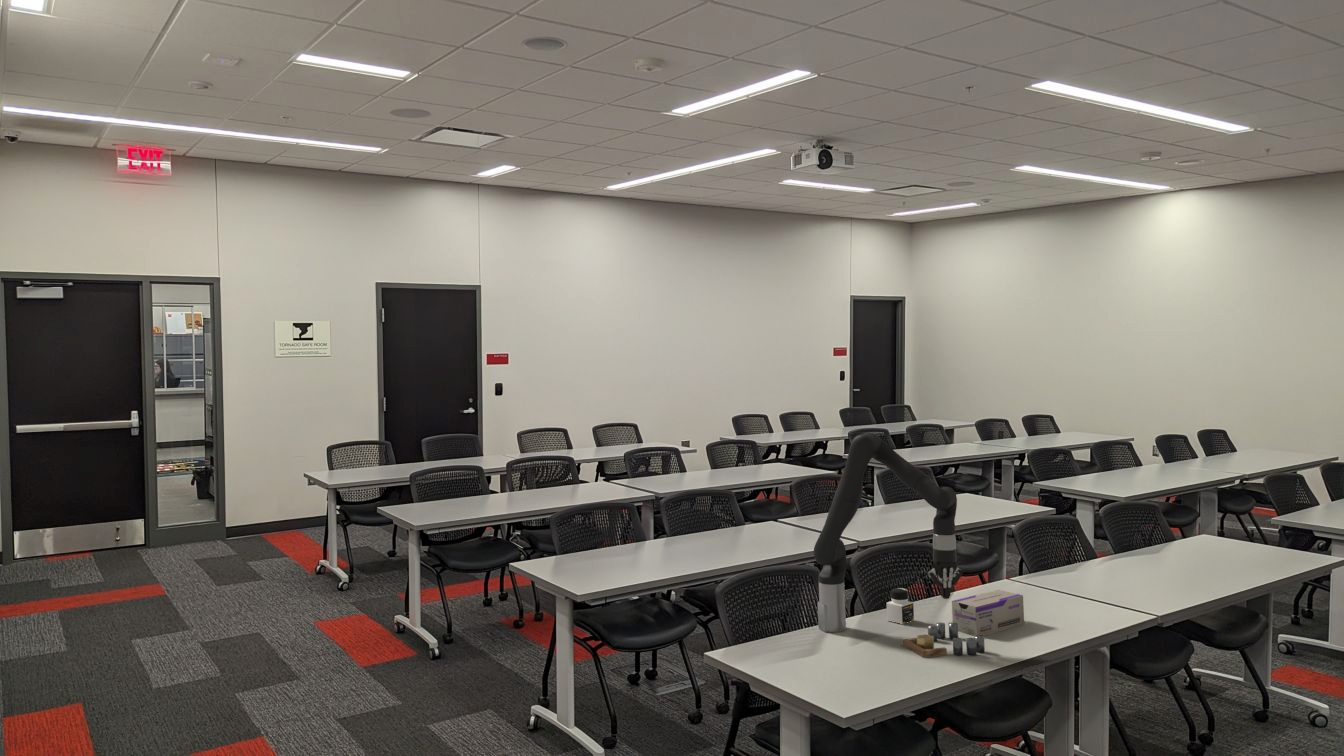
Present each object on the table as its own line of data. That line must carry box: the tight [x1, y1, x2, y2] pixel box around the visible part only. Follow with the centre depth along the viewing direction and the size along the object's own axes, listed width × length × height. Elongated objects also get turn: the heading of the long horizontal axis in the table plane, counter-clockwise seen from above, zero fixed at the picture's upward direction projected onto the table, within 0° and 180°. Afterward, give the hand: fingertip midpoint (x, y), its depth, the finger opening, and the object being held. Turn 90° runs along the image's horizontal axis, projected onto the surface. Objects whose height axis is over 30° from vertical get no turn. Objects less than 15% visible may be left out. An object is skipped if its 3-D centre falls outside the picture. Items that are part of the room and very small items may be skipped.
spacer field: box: [927, 621, 986, 657], centre depth 297 cm, size 11×22×5 cm, turn 13°
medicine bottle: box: [886, 587, 915, 625], centre depth 329 cm, size 7×7×12 cm
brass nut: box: [916, 634, 935, 650], centre depth 294 cm, size 6×5×4 cm
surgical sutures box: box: [951, 589, 1025, 637], centre depth 317 cm, size 25×11×11 cm, turn 121°
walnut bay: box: [901, 637, 948, 659], centre depth 295 cm, size 8×14×2 cm, turn 13°
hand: (945, 598), depth 297 cm, fingers closed
